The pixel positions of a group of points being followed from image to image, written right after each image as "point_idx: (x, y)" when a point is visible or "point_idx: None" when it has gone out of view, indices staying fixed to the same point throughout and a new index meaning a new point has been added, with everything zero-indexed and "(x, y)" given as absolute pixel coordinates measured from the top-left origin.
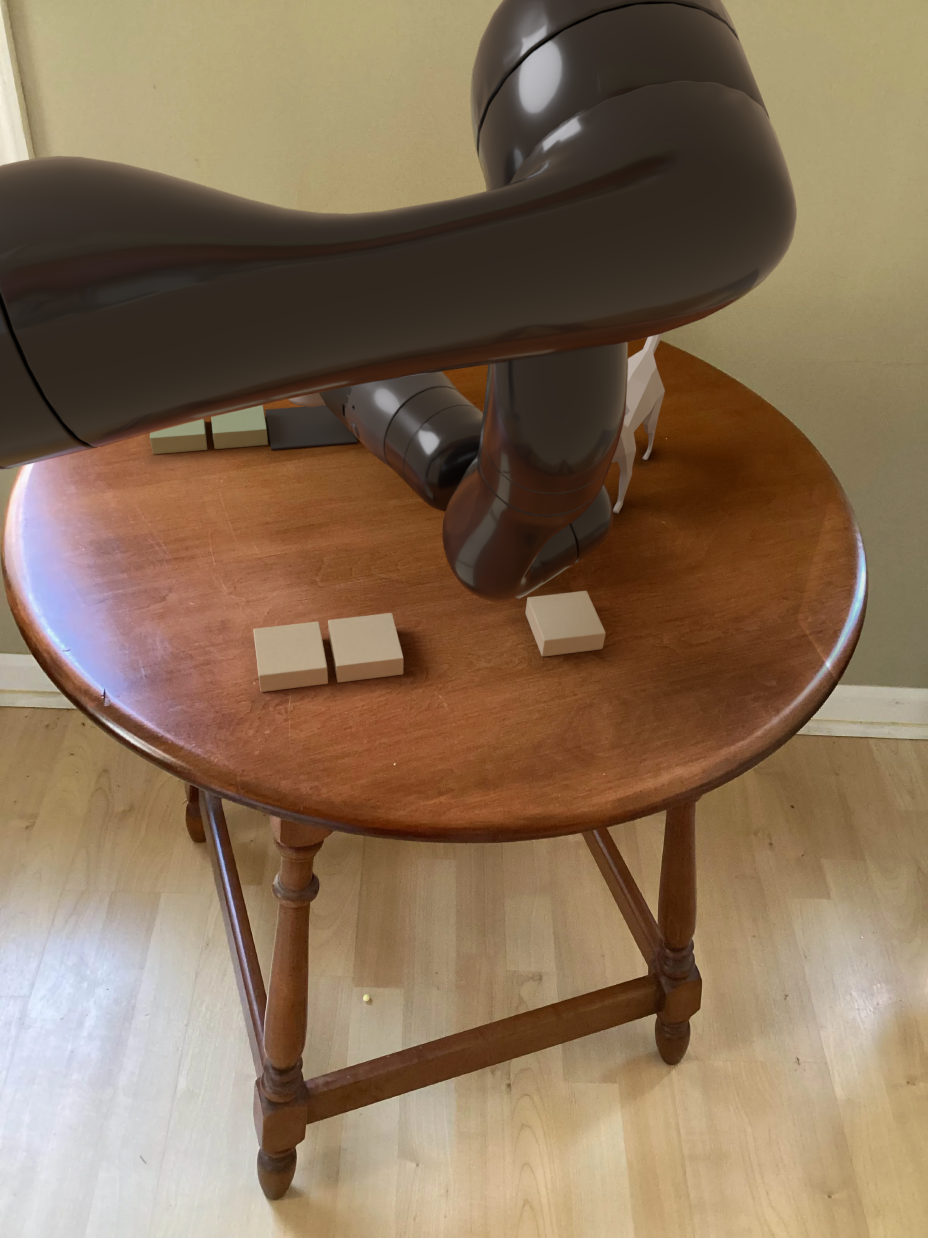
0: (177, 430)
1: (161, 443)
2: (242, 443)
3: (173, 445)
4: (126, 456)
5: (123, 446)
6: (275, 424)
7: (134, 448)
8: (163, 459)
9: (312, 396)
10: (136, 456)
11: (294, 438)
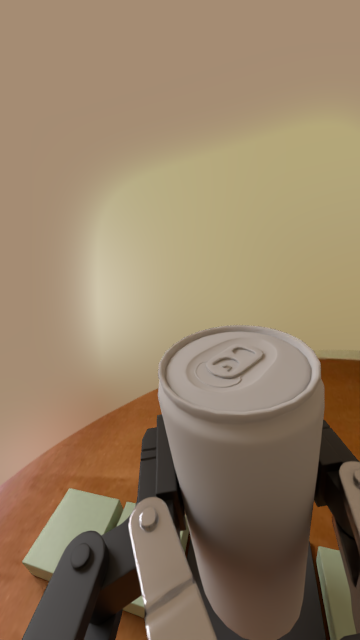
0: (59, 555)
1: (36, 570)
2: (133, 611)
3: (50, 577)
4: (8, 564)
5: (24, 536)
6: (196, 564)
7: (29, 546)
8: (32, 597)
9: (244, 631)
10: (16, 570)
11: (214, 631)
